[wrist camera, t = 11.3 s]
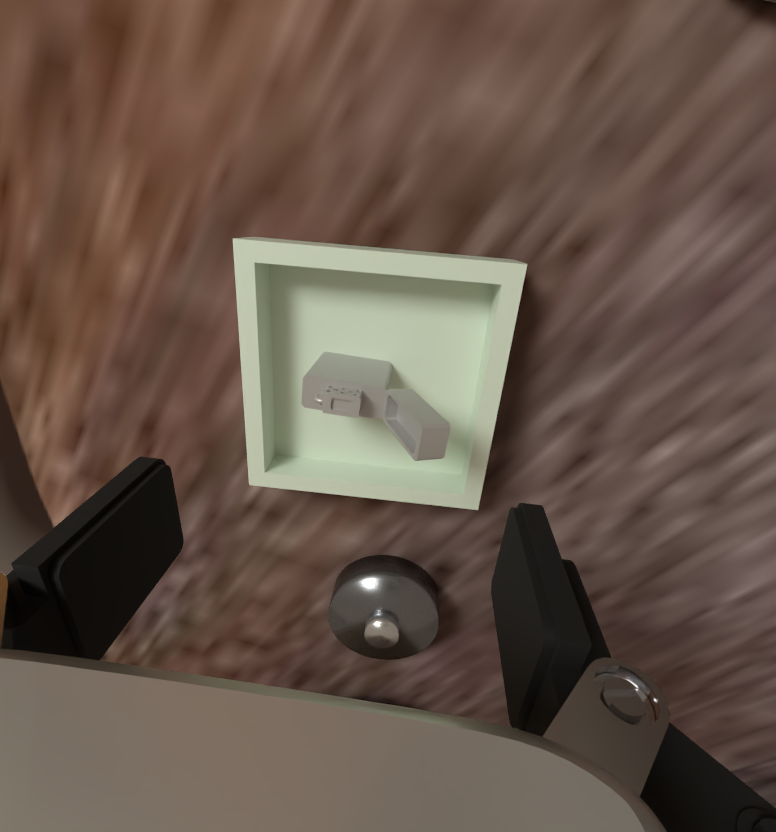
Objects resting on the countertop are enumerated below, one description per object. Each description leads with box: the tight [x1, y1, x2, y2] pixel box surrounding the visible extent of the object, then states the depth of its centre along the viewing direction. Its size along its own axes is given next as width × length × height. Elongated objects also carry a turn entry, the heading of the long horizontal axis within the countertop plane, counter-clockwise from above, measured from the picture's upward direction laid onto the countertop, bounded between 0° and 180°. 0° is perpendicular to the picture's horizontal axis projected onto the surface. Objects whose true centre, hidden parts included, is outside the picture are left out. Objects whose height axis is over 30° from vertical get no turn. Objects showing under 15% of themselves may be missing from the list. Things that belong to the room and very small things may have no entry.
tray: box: [233, 237, 527, 510], centre depth 24 cm, size 14×14×3 cm
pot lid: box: [328, 555, 439, 660], centre depth 32 cm, size 8×8×4 cm
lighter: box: [301, 352, 450, 461], centre depth 21 cm, size 7×2×8 cm, turn 82°
